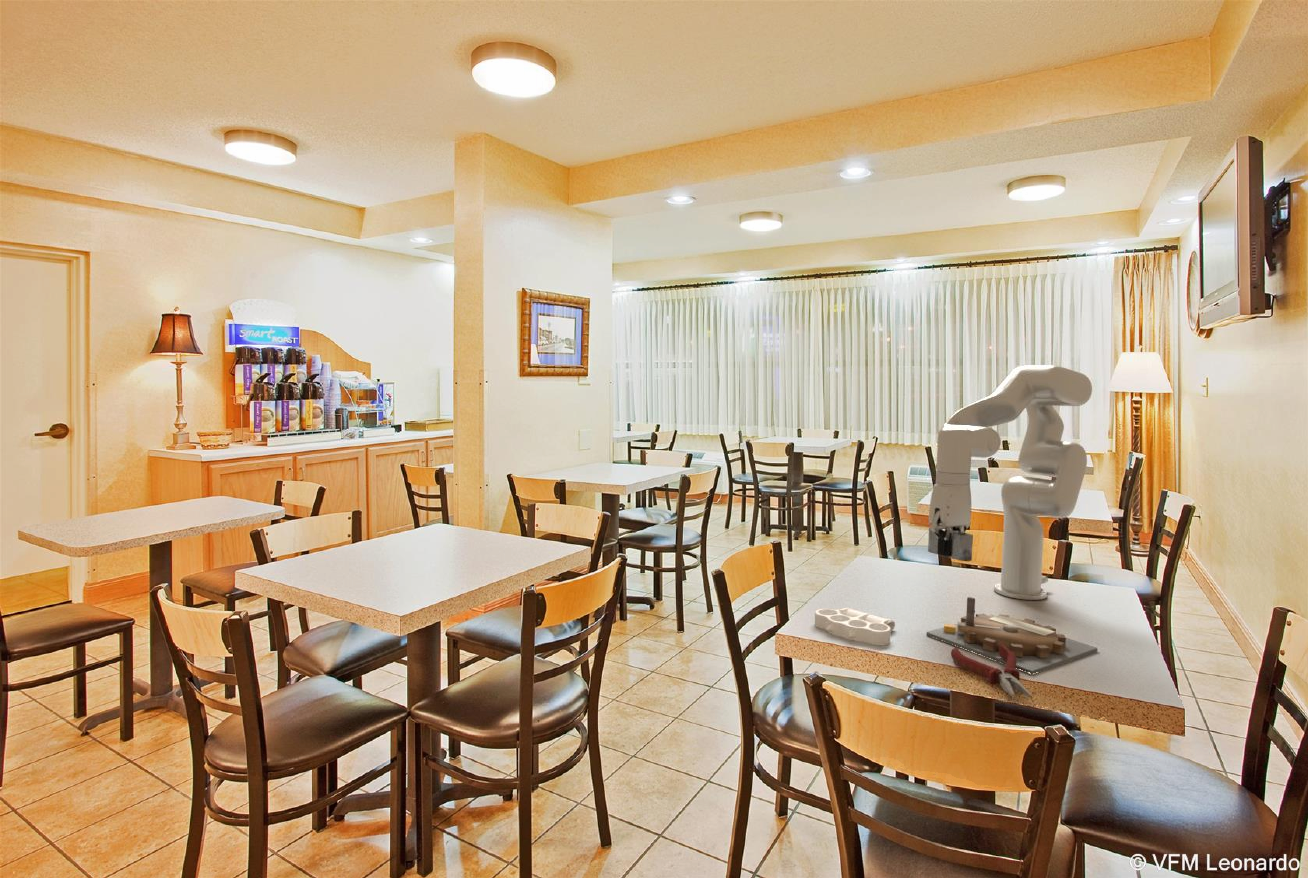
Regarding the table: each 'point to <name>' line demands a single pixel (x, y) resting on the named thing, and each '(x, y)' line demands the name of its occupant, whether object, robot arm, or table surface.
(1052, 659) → the index base plate
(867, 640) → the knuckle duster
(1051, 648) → the sprocket wheel
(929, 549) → the chain link
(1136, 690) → the table surface
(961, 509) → the robot arm
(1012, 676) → the pliers
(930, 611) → the table surface
